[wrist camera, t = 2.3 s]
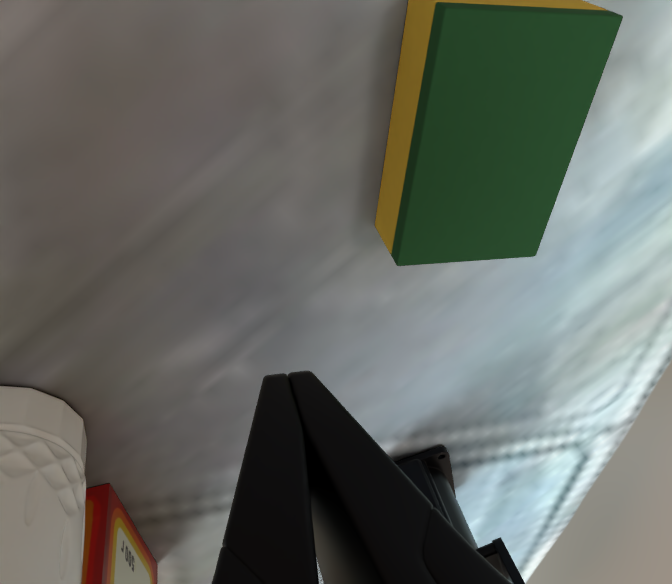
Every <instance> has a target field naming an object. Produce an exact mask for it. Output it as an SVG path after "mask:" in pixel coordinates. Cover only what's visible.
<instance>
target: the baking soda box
mask: <svg viewBox="0 0 672 584" xmlns="http://www.w3.org/2000/svg"><path fill="white" fill-rule="evenodd" d="M82 584H157V563H156V561H155V560H154V558H153V556H152V555H151V553H150V551H149V550H148V548H147V546H146V544H145V543H144V541H143V539H142V538H141V536H140V534H139V532H138V531H137V529H136V527H135V526H134V524H133V522H132V521H131V519H130V517H129V515H128V514H127V512H126V510H125V509H124V507H123V505H122V503H121V502H120V500H119V498H118V497H117V495H116V493H115V492H114V490H113V488H112V486H111V485H110V483H109V484H105V485H101V486H97V487H92V488H88V489H86V501H85V537H84V554H83V569H82Z"/></svg>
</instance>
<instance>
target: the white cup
mask: <svg viewBox="0 0 672 584" xmlns="http://www.w3.org/2000/svg"><path fill="white" fill-rule="evenodd" d="M86 449H87V438H86V433H85V427H84V422H83V419H82V418H81V417H80V416H79V415H78V414H77V413H76V412H75V411H74V410H73V409H72V408H71V407H70V406H69V405H68V404H67V403H65V402H64V401H63V400H61V399H58V398H56V397H53V396H50V395H48V394H45V393H43V392H40V391H37V390H35V389H32V388H22V387H9V386H0V584H82V569H83V554H84V537H85V501H86V477H85V475H84V474H85V462H86Z"/></svg>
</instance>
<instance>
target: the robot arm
mask: <svg viewBox="0 0 672 584" xmlns="http://www.w3.org/2000/svg"><path fill="white" fill-rule="evenodd" d="M222 544H223V547H222V548H221V550H220V554H219V558H218V562H217V566H216V570H215V574H214V577H213V581H212V584H319V581H318V571H317V561H316V557H317V560H318V564H319V567H320V571H321V574H322V578H323V581H324V584H525V583H524V581H523V579H522V577H521V575H520V573H519V571H518V569H517V568H516V566H515V564H514V562H513V560H512V558H511V556H510V554H509V552H508V550H507V549H506V547H505V545H504V543H503V541H502V539H501V537H500V538H498V539H495V540H493V541H492V543H490V544H488V545H485V546H483V547H480V548H478V547H477V544H476V542H475V540H474V538H473V535H472V533H471V531H470V529H469V527H468V524H467V522H466V520H465V518H464V515H463V513H462V511H461V509H460V506H459V504H458V502H457V500H456V496H455V489H454V483H453V476H452V470H451V464H450V457H449V453H448V451H447V449H446V448H445V447H438V448H435V449H432V450H429V451H426V452H424V453H421V454H418V455H415V456H412V457H409V458H406V459H403V460H401V461H398V462H395V463H394V462H393V460H392V459H391V458H390V457H389V456H388V455H387V454H386V453H385V452H384V451H383V450H382V448H381V447H380V446H379V445H378V444H377V443H376V442H375V441H374V440H373V439H372V437H371V436H370V435H369V434H368V433H367V432H366V431H365V430H364V429H363V428H362V426H361V425H360V424H359V423H358V422H357V421H356V420H355V419H354V418H353V417H352V415H351V414H350V413H349V412H348V411H347V410H346V409H345V408H344V407H343V406H342V405H341V403H340V402H339V401H338V400H337V399H336V398H335V397H334V396H333V395H332V394H331V392H330V391H329V390H328V389H327V388H326V387H325V386H324V385H323V384H322V383H321V381H320V380H319V379H318V378H317V377H316V376H315V375H314V374H313V373H312V372H310V371H300V372H291V373H289V374H288V376H287V375H286V374H284V373H282V374H273V375H266V376H265V377H264V378H263V382H262V386H261V390H260V394H259V398H258V402H257V406H256V410H255V414H254V418H253V422H252V426H251V430H250V434H249V438H248V442H247V446H246V450H245V454H244V458H243V462H242V466H241V470H240V474H239V478H238V482H237V487H236V491H235V495H234V499H233V503H232V507H231V511H230V515H229V519H228V523H227V527H226V531H225V535H224V539H223V543H222Z"/></svg>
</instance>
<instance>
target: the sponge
mask: <svg viewBox="0 0 672 584" xmlns="http://www.w3.org/2000/svg"><path fill="white" fill-rule="evenodd" d="M622 18H623V16H621V15H619V14H616V13H614V12H611V11H608V10H606V9H604V8H601V7H598V6H596V5H593V4H590V3H588V2H585V1H582V0H408V7H407V14H406V20H405V27H404V34H403V40H402V47H401V54H400V60H399V67H398V74H397V80H396V87H395V94H394V100H393V107H392V114H391V120H390V127H389V134H388V140H387V147H386V154H385V160H384V167H383V174H382V180H381V187H380V194H379V200H378V207H377V214H376V220H375V227H376V229H377V231H378V233H379V234H380V236H381V238H382V240H383V242H384V243H385V245H386V247H387V249H388V251H389V252H390V254H391V256H392V257H393V259H394V261H395V263H396V265H397V266H405V265H419V264H434V263H448V262H462V261H476V260H490V259H504V258H518V257H533V256H535V255H536V253H537V250H538V248H539V245H540V242H541V239H542V237H543V234H544V231H545V229H546V226H547V223H548V220H549V218H550V215H551V212H552V209H553V207H554V204H555V201H556V198H557V196H558V193H559V190H560V188H561V185H562V182H563V179H564V177H565V174H566V171H567V168H568V166H569V163H570V160H571V158H572V155H573V152H574V149H575V147H576V144H577V141H578V138H579V136H580V133H581V130H582V128H583V125H584V122H585V119H586V117H587V114H588V111H589V108H590V106H591V103H592V100H593V98H594V95H595V92H596V89H597V87H598V84H599V81H600V78H601V76H602V73H603V70H604V68H605V65H606V62H607V59H608V57H609V54H610V51H611V48H612V46H613V43H614V40H615V38H616V35H617V32H618V29H619V27H620V24H621V21H622Z"/></svg>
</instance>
